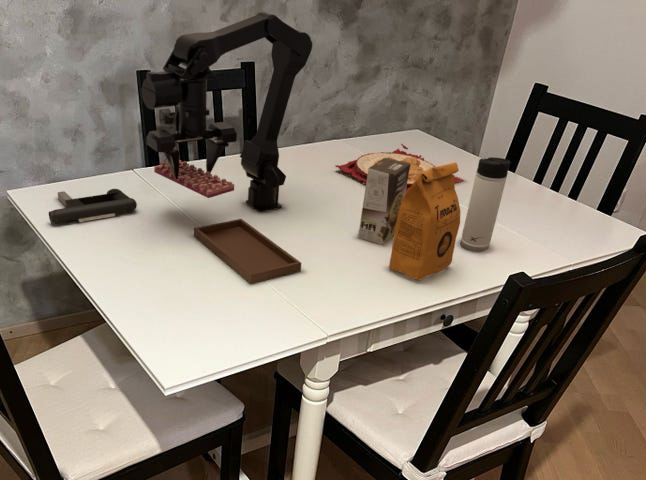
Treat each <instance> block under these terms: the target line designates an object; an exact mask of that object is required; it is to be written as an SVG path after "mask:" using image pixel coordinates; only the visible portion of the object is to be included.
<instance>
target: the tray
mask: <svg viewBox="0 0 646 480" xmlns="http://www.w3.org/2000/svg"><path fill="white" fill-rule="evenodd" d="M193 237H194V239H196V240H197V241H198V242H200V243H201V244H202V245H203V246H204V247H206V248H207V249H208V250H209V251H210V252H212V253H213V254H214V255H215V256H216V257H218V258H219V259H220V260H221V261H223V262H224V263H225V264H226V265H227V266H228V267H230V268H231V269H232V270H233V271H234V272H236V273H237V274H238V275H239V276H240V277H242V278H243V279H244V280H245V281H246V282H247V283H249V284H250V285H251V284H256V283H260V282H264V281H268V280H273V279H276V278H280V277H285V276H288V275H293V274H297V273H301V270H302V262H301V261H299V260H298V259H297V258H296V257H294V256H293V255H292V254H290V253H289V252H287V251H286V250H285V249H283V248H282V247H281V246H280V245H278V244H276V243H275V242H274V241H273V240H271V239H270V238H269V237H267V236H266V235H264V234H263V233H261V232H260V231H259V230H257V229H256V228H255V227H254V226H252V225H251V224H249V222H246V221H245V220H244V219H243V218H237V219H232V220H227V221H221V222H217V223H212V224H207V225H201V226H196V227H193Z"/></svg>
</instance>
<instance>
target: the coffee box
mask: <svg viewBox="0 0 646 480" xmlns="http://www.w3.org/2000/svg"><path fill="white" fill-rule="evenodd" d="M410 165H411V164H410V163H406V162H402V161H397V160H391V159H387V158H384V159H382V160H381V161H379V162H378V163H376V164H374V165H373V166H371V167H370V168H368V175H367V181H366V184H365V189H364V195H363V201H362V210H361V214H360V215H361V216H360V222H359V229H358V234H357V238H359V239H362V240H364V241H367V242H368V241H369V242H372V243H373V244H374V243H375V244H377V245H381V246H383V245H385V244H386V243H387V242H388V241H390V240H391V239H392V238H394V232H395V226H396V222H397V217H398V213H399V209H400V206H401V202H402V200H403V197H404V195H405V193H406V187H407V181H408V176H409V170H410Z"/></svg>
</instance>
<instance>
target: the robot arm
mask: <svg viewBox="0 0 646 480" xmlns="http://www.w3.org/2000/svg"><path fill="white" fill-rule="evenodd" d="M262 39H265V40H266V41H268V42H269V43H270V44H271V45H272V46H271V52H270V53H271V54H270V55H271V60H272V61H271V62H272V67H273V70H272V74H271V79H270V82H269V86H268V89H267V93H266V96H265V100H264V104H263V108H262V111H261V114H260V119H259V122H258V126H257V130H256V133H255V135H254V136H253V137H252V138H251V139H250V140H247V139H245V140H244V141H243V145H242V151H241V153H240V155H239V158H241V159H240V165H241V168H242V169H243V170H244V172H245V175H246V178H249V179H250V181H249V187H248V189H247V191H248V192H247V200H245V204H247V205H248V206H250V207H251V208H252V209H254V210H255V211H257V212H259V213H263V212H267V211H273V210H278V209H282V208H283V207H282V206H283V205H282V204H280V203H279V197H280V196H279V194H280V186H284V185H285V181H286V180H287V179H286V178H287V175H286V174H285V173H284V172H283V171H282V169H280V168H279V159H280V152H279V145H278V138H279V136H280V132H281V127H282V125H283V121H284V118H285V114H286V111H287V107H288V103H289V100H290V97H291V93H292V89H293V86H294V82H295V78H296V76H297V75H298V74H299V73H300V72H301V71H302V70H303V68H304V67H305V66H306V64H307V62H308V60H309V57H310V56H311V53H312V50H313V41H312V38H311V36H310V35H309V34H308V33H306V32H305V31H301V30H299V29H296V28H294V27H292V26H290V25H289V24H287V23H286V22H284V21H283V20H281V18H279V17H278V16H277V15H275V14H273V13H269V12H266V11H260V12H258V13H256V14H255V15H253V16H250V17H248V18H246V19H243V20H240V21H237V22H234V23H232V24H229V25H227V26H224V27H222V28H220V29H217V30H214V31H209V32H193V33H187V34H185V33H184V34H182V35H180V36H179V37H177V38H176V40H175V43H174V46H173V49H172V51H171V53H170V55H169V57H168V58H167V60H166V62H165V64H164V65H163V67H162V70H163V71H147V72H146V78H145V79H144V80H143V83H142V86H141V90H140V91H141V98H142V101H143V104H144V105H145V107H146V108H148V109H149V110H155V109H159V110H158V121H159V124H160V125H161V126H167V129H168V130H170V129H173V130H174V131H175V132H178V133H170V132H169V131H168V130H166V129H158V130H157V129H156V130H150V131H149V132H148V134H147V135H146V145H147V146H149V147H150V148H151V149H152V150H154V151H155V152H157V153H162V154H163V155H164V157H165V158H166V161H167V163H169V165H170V168H171V171H172V174H173V176H174V178H175V179H178V175H179V160H180V153H181V152H180V150H178V149H177V144H180V143H190V142H196V141H203V140H204V141H205V146H206V157H205V158H206V159H205V168H206V171H205V172H207V171H208V172H210V174H212V171H213V169H214V167H215V165H216V163H217V161H218V160H219V158H220V156H221V154H222V153H223V152H224V150H225V149H226V148H227V147H229V145H230V143H236V142H237V141H238V132H237V129H236V128H235V127H234V126H232V125H230V124H228V123H227V122H225V121H221V122H220V121H219V122H212V123H210V124H209V125H208V128H207V116H210V109H208V108H207V101H208V99H207V98H208V97H207V96H208V95H207V93H208V92H207V91H208V81H209V80H211V81H212V80H216V79H217V75H216V74H215V73H214V72H213V71H212V70H211V68H210V67H211V66H213V65H215V64H216V63H217V62H218V61H219V59H220V58H221V57H222V56H223V55H225V54H227V53H230V52H231V51H234V50H237V49H240V48H242V47H244V46H247V45H250V44H252V43H255V42H257V41H259V40H262ZM180 65H182V66H183V67H182V66H180ZM170 107H175V109H174V110H175V111H173V112H171V110H170Z"/></svg>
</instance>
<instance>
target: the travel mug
mask: <svg viewBox="0 0 646 480" xmlns="http://www.w3.org/2000/svg"><path fill="white" fill-rule="evenodd" d="M510 166H511V161H510V160H509V159H507V158H501V157H491V156H490V157H488V158H480V159H478V164H477V168H476V172H475V177H474V181H473V184H472V185H473V186H472V189H471V194H470V199H469V202H468V207H467V210H466V211H467V212H466V216H465V220H464V224H463V229H462V232H461V233H462V234H461V238H460V243H459V244H460V246H461V247H462V248H463V249H465V250H466V251H470V252H475V253H481V252H483V253H484V252H486V251H488V250H489V249H490V245H491V241H492V237H493V233H494V229H495V226H496V221H497V217H498V214H499V210H500V206H501V202H502V199H503V195H504V194H503V193H504V189H505V187H506V182H507V178H508V172H509V168H510Z"/></svg>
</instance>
